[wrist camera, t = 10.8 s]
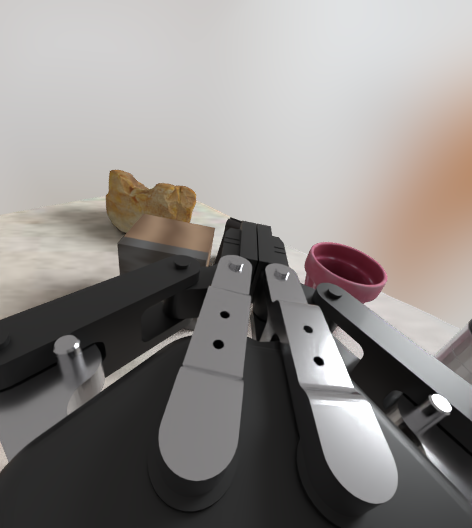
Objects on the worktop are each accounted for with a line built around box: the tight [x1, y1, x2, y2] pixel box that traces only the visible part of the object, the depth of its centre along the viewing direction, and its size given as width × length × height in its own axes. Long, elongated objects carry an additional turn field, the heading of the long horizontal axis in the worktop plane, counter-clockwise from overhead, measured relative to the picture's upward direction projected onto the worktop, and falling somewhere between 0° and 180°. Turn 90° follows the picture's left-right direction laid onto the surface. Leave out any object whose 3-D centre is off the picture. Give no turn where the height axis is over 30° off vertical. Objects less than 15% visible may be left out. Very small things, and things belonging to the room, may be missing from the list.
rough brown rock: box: [106, 170, 196, 233], centre depth 64 cm, size 23×17×15 cm
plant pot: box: [304, 242, 387, 326], centre depth 50 cm, size 14×14×13 cm
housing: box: [118, 214, 215, 330], centre depth 42 cm, size 12×10×14 cm
